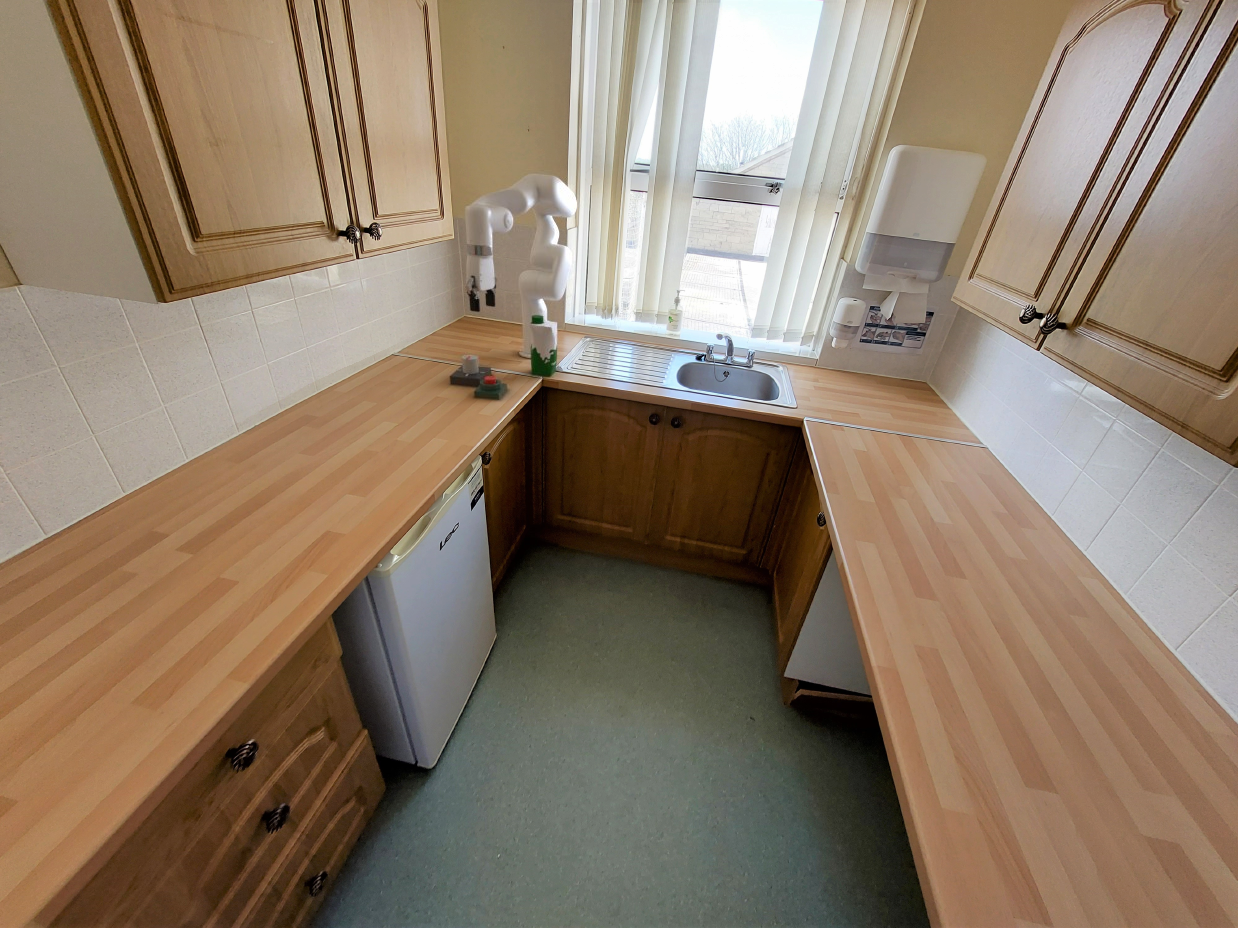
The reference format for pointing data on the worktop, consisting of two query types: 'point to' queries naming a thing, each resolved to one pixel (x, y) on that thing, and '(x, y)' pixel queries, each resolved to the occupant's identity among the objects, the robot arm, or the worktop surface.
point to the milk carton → (543, 346)
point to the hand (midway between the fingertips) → (483, 308)
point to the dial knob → (470, 364)
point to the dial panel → (469, 377)
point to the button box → (490, 390)
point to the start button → (490, 380)
